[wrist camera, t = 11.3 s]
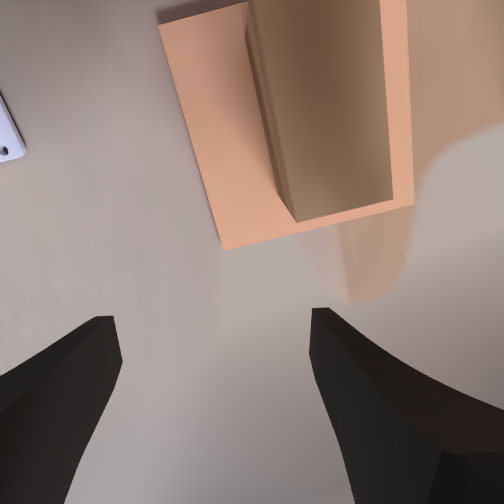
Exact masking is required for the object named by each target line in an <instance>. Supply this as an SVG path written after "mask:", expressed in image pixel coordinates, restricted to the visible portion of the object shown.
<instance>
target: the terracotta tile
mask: <svg viewBox="0 0 504 504" xmlns="http://www.w3.org/2000/svg"><path fill="white" fill-rule="evenodd" d="M248 2H249V1H246V2H242V3H238V4H235V5H231V6H227V7H224V8H220V9H216V10H213V11H209V12H205V13H202V14H198V15H194V16H191V17H187V18H183V19H180V20H176V21H172V22H169V23H165V24H161V25H158V29H159V32H160V36H161V39H162V42H163V46H164V49H165V53H166V56H167V59H168V63H169V66H170V70H171V73H172V76H173V80H174V83H175V87H176V90H177V93H178V97H179V100H180V104H181V107H182V110H183V114H184V117H185V121H186V124H187V127H188V131H189V134H190V138H191V141H192V145H193V148H194V151H195V155H196V158H197V162H198V165H199V168H200V172H201V175H202V179H203V182H204V185H205V189H206V192H207V196H208V199H209V202H210V206H211V209H212V213H213V216H214V219H215V223H216V226H217V230H218V233H219V236H220V240H221V243H222V247H223V250H228V249H232V248H236V247H240V246H244V245H248V244H253V243H257V242H261V241H265V240H269V239H273V238H277V237H281V236H286V235H290V234H294V233H298V232H302V231H306V230H310V229H315V228H319V227H323V226H327V225H331V224H335V223H339V222H343V221H348V220H352V219H356V218H360V217H364V216H368V215H372V214H376V213H381V212H385V211H389V210H393V209H397V208H401V207H405V206H410V205H414V204H415V202H414V179H413V155H412V131H411V107H410V83H409V60H408V36H407V12H406V0H380V13H381V27H382V42H383V56H384V71H385V85H386V100H387V114H388V128H389V143H390V157H391V172H392V186H393V200H388V201H384V202H380V203H376V204H372V205H368V206H364V207H360V208H356V209H352V210H348V211H344V212H340V213H335V214H331V215H327V216H323V217H319V218H315V219H311V220H307V221H303V222H299V223H296V222H295V220H294V219H293V217H292V216H291V214H290V213H289V211H288V210H287V208H286V207H285V205H284V204H283V202H282V200H281V199H280V197H279V196H278V194H277V189H276V184H275V180H274V175H273V170H272V165H271V161H270V156H269V151H268V146H267V141H266V137H265V132H264V127H263V122H262V118H261V113H260V108H259V103H258V99H257V94H256V89H255V84H254V80H253V75H252V70H251V65H250V60H249V56H248V51H247V46H246V41H245V30H246V21H247V11H248Z"/></svg>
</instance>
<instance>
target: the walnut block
mask: <svg viewBox="0 0 504 504" xmlns="http://www.w3.org/2000/svg"><path fill="white" fill-rule="evenodd" d="M245 41H246V46H247V51H248V56H249V60H250V65H251V70H252V75H253V80H254V84H255V89H256V94H257V99H258V103H259V108H260V113H261V118H262V122H263V127H264V132H265V137H266V141H267V146H268V151H269V156H270V161H271V165H272V170H273V175H274V180H275V184H276V189H277V194H278V196H279V197H280V199H281V200H282V202H283V204H284V205H285V207H286V208H287V210H288V211H289V213H290V214H291V216H292V217H293V219H294V220H295V222H296V223H299V222H303V221H307V220H311V219H315V218H319V217H323V216H327V215H331V214H335V213H340V212H344V211H348V210H352V209H356V208H360V207H364V206H368V205H372V204H376V203H380V202H384V201H388V200H393V186H392V172H391V157H390V143H389V128H388V114H387V100H386V85H385V71H384V56H383V42H382V27H381V13H380V0H249V2H248V11H247V21H246V30H245Z"/></svg>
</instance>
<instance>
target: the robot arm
mask: <svg viewBox="0 0 504 504" xmlns="http://www.w3.org/2000/svg"><path fill="white" fill-rule="evenodd" d="M4 146H5V147H6V148H7V149H8V151H9V153H8V155H7V154H5V152H4V151H3V147H4ZM25 153H26V148H25V145H24V143H23V141H22V139H21V137H20V135H19V133H18V131H17V129H16V127H15V125H14V123H13V121H12V118H11V116H10V114H9V112H8V110H7V108H6V106H5V104H4V102H3V100H2V98H1V96H0V163H1V162H4V161H8V160H12V159H16V158H20V157H22V156H24V154H25ZM309 355H310V359H311V364H312V368H313V373H314V376H315V380H316V383H317V385H318V388H319V391H320V394H321V396H322V399H323V402H324V404H325V407H326V410H327V413H328V415H329V418H330V421H331V423H332V426H333V429H334V431H335V434H336V437H337V440H338V443H339V446H340V449H341V452H342V456H343V459H344V463H345V467H346V470H347V474H348V478H349V481H350V485H351V489H352V493H353V497H354V501H355V504H504V410H502V409H500V408H497V407H495V406H492V405H490V404H487V403H485V402H483V401H480V400H478V399H475V398H473V397H471V396H468V395H466V394H464V393H462V392H459V391H457V390H455V389H453V388H451V387H449V386H447V385H444V384H442V383H441V382H439V381H436V380H434V379H432V378H431V377H429V376H427V375H425V374H423V373H421V372H419V371H418V370H416V369H414V368H412V367H410V366H409V365H407V364H405V363H404V362H402V361H400V360H399V359H397V358H396V357H394V356H392V355H391V354H389V353H388V352H387V351H385V350H383V349H382V348H381V347H379V346H378V345H376V344H375V343H374V342H372V341H371V340H369V339H368V338H366V337H365V336H364V335H363V334H361V333H360V332H359V331H358V330H356V329H355V328H354V327H352V326H351V325H350V324H349V323H347V322H346V321H345V320H344V319H343V318H341V317H340V316H339V315H338V314H336V313H335V312H334V311H332V310H331V309H330V308H312V319H311V335H310V348H309ZM122 362H123V361H122V356H121V351H120V346H119V342H118V337H117V332H116V327H115V322H114V317H113V316H96V317H94V318H92V319H90V320H89V321H87V322H85V323H84V324H82V325H81V326H79V327H78V328H76V329H75V330H73V331H72V332H70V333H69V334H67V335H66V336H64V337H63V338H61V339H59V340H58V341H56V342H55V343H53V344H52V345H50V346H49V347H47V348H46V349H44V350H43V351H41V352H39V353H38V354H36V355H35V356H33V357H31V358H30V359H28V360H26V361H25V362H23V363H22V364H20V365H18V366H17V367H15V368H13V369H12V370H10V371H8V372H6V373H5V374H3V375H1V376H0V504H64V502H65V499H66V496H67V494H68V491H69V488H70V485H71V483H72V480H73V477H74V475H75V472H76V469H77V467H78V464H79V462H80V460H81V457H82V455H83V453H84V451H85V448H86V446H87V444H88V442H89V440H90V438H91V436H92V434H93V432H94V430H95V428H96V425H97V424H98V422H99V419H100V417H101V415H102V413H103V411H104V409H105V406H106V405H107V403H108V401H109V398H110V396H111V394H112V392H113V390H114V387H115V384H116V381H117V378H118V375H119V372H120V369H121V366H122Z"/></svg>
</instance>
